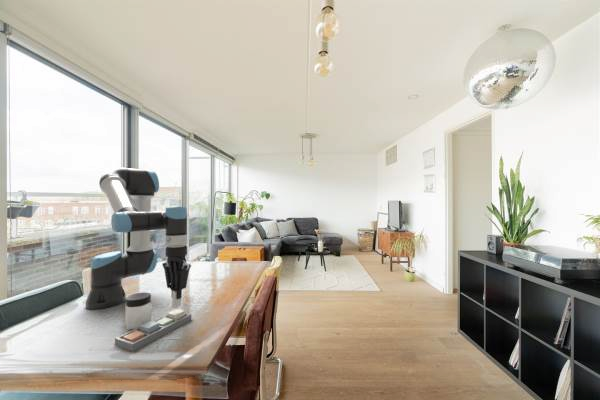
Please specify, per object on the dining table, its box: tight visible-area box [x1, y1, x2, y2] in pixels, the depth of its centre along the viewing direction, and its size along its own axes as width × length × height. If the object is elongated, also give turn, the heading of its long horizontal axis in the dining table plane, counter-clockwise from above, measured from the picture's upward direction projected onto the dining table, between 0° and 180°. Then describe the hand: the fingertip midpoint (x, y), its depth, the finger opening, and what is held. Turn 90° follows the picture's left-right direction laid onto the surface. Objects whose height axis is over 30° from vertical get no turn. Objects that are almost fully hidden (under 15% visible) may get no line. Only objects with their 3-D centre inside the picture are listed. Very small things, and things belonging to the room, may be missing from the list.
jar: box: [124, 292, 153, 330], centre depth 97 cm, size 9×8×12 cm
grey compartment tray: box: [112, 312, 194, 353], centre depth 91 cm, size 11×23×4 cm, turn 156°
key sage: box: [156, 318, 173, 327], centre depth 94 cm, size 4×4×2 cm
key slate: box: [140, 320, 159, 334], centre depth 89 cm, size 4×4×2 cm
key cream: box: [167, 308, 186, 320], centre depth 99 cm, size 4×4×2 cm
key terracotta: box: [123, 331, 144, 343], centre depth 84 cm, size 4×4×2 cm
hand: (176, 306), depth 98 cm, fingers closed
